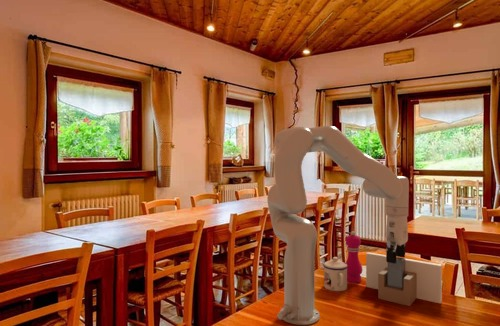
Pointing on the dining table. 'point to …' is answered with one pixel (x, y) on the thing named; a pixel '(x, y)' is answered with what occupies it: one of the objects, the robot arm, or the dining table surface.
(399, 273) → the blue-grey rectangular block
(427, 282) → the upright white panel
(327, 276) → the teacup with lid
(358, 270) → the pepper mill
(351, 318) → the dining table surface
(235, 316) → the dining table surface
